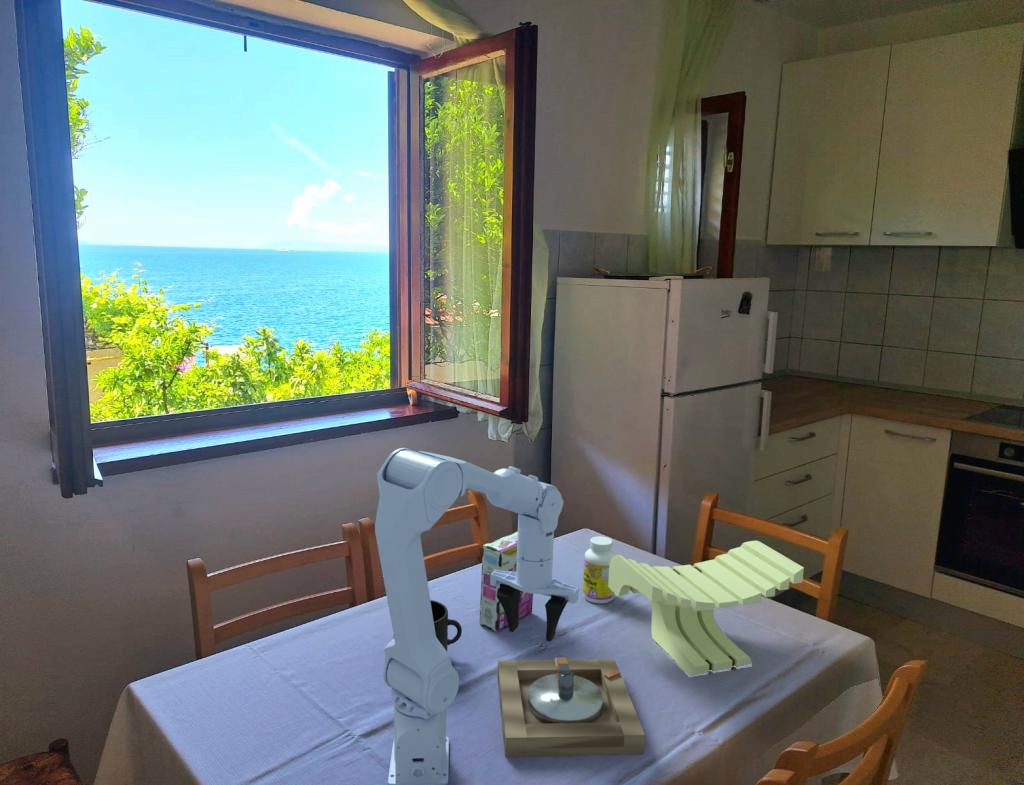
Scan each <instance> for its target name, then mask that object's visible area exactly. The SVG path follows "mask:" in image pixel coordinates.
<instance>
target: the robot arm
mask: <svg viewBox="0 0 1024 785" xmlns="http://www.w3.org/2000/svg"><path fill="white" fill-rule="evenodd" d="M521 471H522V470H521V469H520V468H517V467H514V466H508V468H500V469H497V470H495V471H494V472H492V471H489V470H487V469H484V468H482V467H480V466H478V465H476V464H473V463H471V462H468V461H466V460H463V459H458V458H455V457H451V456H448V455H442V454H438V453H434V452H430V451H429V452H428V451H423V450H418V452H417V451H415V450H414V449H411V448H407V447H401V448H398V449H396V450H393V452H391V453H390V454H389V455H388V457H386V459H385V461H384V463H383V464H382V466H381V467H380V469H379V470H378V472H377V474H376V479H377V484H378V490H379V498H378V505H377V510H376V516H375V521H374V522H375V523H374V534H375V539H376V544H377V550H378V557H379V562H380V565H381V573H382V577H383V583H384V588H385V594H386V595H385V596H386V600H387V606H388V611H389V617H390V621H391V628H392V633H393V634H394V639H393V638H392V639H391V640H390V642H388V643H387V644H386V645H385V647H384V648H383V650H384V655H385V658H384V663H383V664H384V665H383V670H382V677H383V681H384V683H385V684H386V685H387V687H390V689H391V697H392V698H393V700H394V701H393V703H394V705H393V708H394V710H393V712H394V714H393V721H394V722H393V727H394V728H393V733H394V734H393V740H392V741H393V742H392V748H391V755H390V762H389V771H388V775H387V776H388V778H387V785H448V783H449V763H450V762H449V758H450V756H449V755H450V754H449V752H450V750H449V749H450V746H449V745H450V738H449V736H447V714H448V713H447V712H448V711H447V709H448V707H450V706H451V705H452V703H453V702H454V700H455V699H456V697H457V695H458V691H459V686H460V676H459V672H458V671H457V669H455V668H454V666H453V665H452V661H451V660H452V659H451V656H450V653H449V652H448V650H447V651H446V650H445V648H444V647H443V646H442V644H441V643H440V642H439V640H438V639H437V637H436V633H435V627H434V621H433V614H432V608H431V602H430V600H431V596H430V590H429V585H428V584H429V583H428V578H427V577H428V576H427V571H426V570H427V569H426V564H425V558H424V552H423V546H422V545H423V544H422V540H421V539H422V538H421V535H422V534H423V533H424V532H427V531H430V530H431V529H432V527H433V526H434V525H435V524H436V523H437V522H438V521H439V520H440V519H441V517H442V516H444V514H446V512H447V511H448V510H449V509H451V507H452V506H453V505H454V503H455V502H456V501H457V499H458V498H459V497H463V496H464V495H465V492H466V490H472V491H475V492H479V493H483V494H485V495H486V499H487V501H488V502H489V503H490V504H491V505H492V506H495V507H497V508H500V509H503V510H507V511H510V512H513V513H515V514H518V516H517V532H518V541H517V568H516V572H511V571H500V570H495V571H494V572H492V573H491V574H490V585H493V586H497V585H500V588H499V591H498V592H497V598H498V600H499V601H500V603H501V605H502V607H503V609H504V612H505V615H506V618H507V622H508V626H507V628H508V631H509V633H514V632H515V631H516V630H517V629H518V627H519V623H520V622H519V601H520V594H521V591H523V592H526V593H532V594H533V595H535V594H536V595H542V596H546V597H550V598H549V599H548V600H547V602H545V605H544V607H545V608H544V609H545V613H546V614H545V615H546V631H545V640H546V642H552V641H553V639H554V638H555V635H556V632H557V631H556V630H557V627H558V624H559V621H560V618H561V617H562V616H561V615H562V613H563V612H564V609H565V607H566V606H567V604H568V603H569V604H572V605H574V604H576V602H578V599H579V593H580V592H579V589H580V588H579V587H577V586H574V585H571V584H568V583H566V582H563V581H560V580H558V579H556V578H553V564H554V562H553V560H554V559H553V558H554V540H555V539H554V538H555V536H554V535H555V530H556V529H557V527H558V525H559V524H558V522H559V517H560V515H561V512H562V510H563V506H564V499H563V497H562V493H561V491H559V490H558V487H556V486H555V485H553V484H551V483H550V484H549V483H546V482H543V481H540V480H539V478H538V477H537V476H536V475H532V474H529V475H528V476H527V475H524V474H521ZM393 634H392V635H393Z"/></svg>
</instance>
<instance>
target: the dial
mask: <svg viewBox="0 0 1024 785" xmlns="http://www.w3.org/2000/svg"><path fill="white" fill-rule="evenodd" d="M556 658H557V674H552V675H547V676H544V677H541V678H539V679H537V680H536V681H535V682H533V683H532V685H531V686H530V688H529V692H528V706H529V709H530V711H531V712H532V713H533V715H534V716H536V717H537V718H538V719H540V720H541V721H543V722H545V723H547V724H553V723H592V722H594V721H595V720H596V719H598V718H599V716H600V715H601V713H602V706H603V696H602V693H601V691H600V689H599V688H598V687H597V686H596V685H595V684H594V683H592V682H591V681H589V680H587V679H585V678H582V677H579V676H576V675H574V673H572V672H571V671H570V669H569V666H568V662H567V660H568V659H567V657H556Z"/></svg>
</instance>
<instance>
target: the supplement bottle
mask: <svg viewBox="0 0 1024 785" xmlns="http://www.w3.org/2000/svg"><path fill="white" fill-rule="evenodd" d="M613 542H614V541H613V539H612V538H610V537H607V536H593V537H591V538H590V540H589V546H590V548H589V549H587V550H586V551H585V553H584V564H583V566H584V567H583V581H582V596H583V598H584V599H585V600H587V601H588V602H590V603H593V604H599V605H600V604H602V605H603V604H607V603H610V602H612V601H613V600H614V598H615V593H614V592H613V591H612V590H611V589H610V588H609V587H608V579H609V565H610V561H611V558H612V557H613V556H614V555H617V554H616V553H615V552H614V551H613V550H612V549H613V547H614V546H613V545H614V544H613Z"/></svg>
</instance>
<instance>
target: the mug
mask: <svg viewBox="0 0 1024 785" xmlns="http://www.w3.org/2000/svg"><path fill="white" fill-rule="evenodd" d="M430 602H431V608H432V614H433V621H434V627H435V633H436V637H437V639H438V640H439V642H440V643H441V644H442V646H443V647H444V648H445V650H446V651H447V652H448V646H450V645H452V644H454V643H457V642H458V641H459V640H460V638H461V636H462V632H463V629H462V625H461V624H460V622H458V621H457V620H456V619H450V618H449V611H448V607H447V606H446V605H445V604H443V603H442V602H439V601H437V600H432V599H430ZM449 626H454V627H455V628H456V634H455V636H454V637H453V638H449V637H448V636H449V634H448V631H449V629H448V628H449ZM392 635H393V636H392V640H393V639H394V634H392Z"/></svg>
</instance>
